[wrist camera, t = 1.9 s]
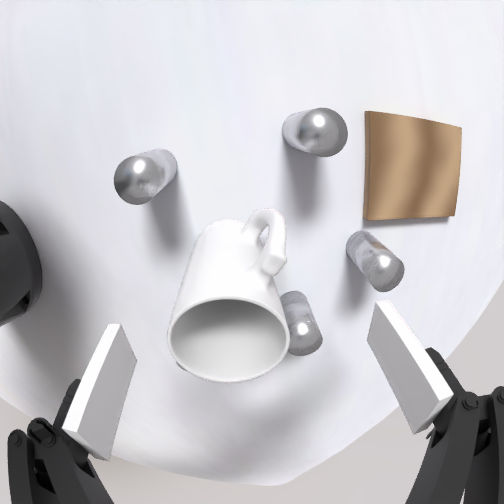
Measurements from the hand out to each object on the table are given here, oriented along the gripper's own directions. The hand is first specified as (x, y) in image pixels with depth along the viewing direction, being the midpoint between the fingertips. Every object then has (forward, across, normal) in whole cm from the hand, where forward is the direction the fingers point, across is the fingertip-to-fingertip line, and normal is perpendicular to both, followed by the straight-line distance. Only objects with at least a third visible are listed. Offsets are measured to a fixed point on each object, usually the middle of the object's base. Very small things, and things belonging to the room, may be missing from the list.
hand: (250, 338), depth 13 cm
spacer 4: (+13, +12, -2) cm, 17 cm away
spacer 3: (+13, +5, -8) cm, 16 cm away
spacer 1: (+13, -6, +7) cm, 16 cm away
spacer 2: (+13, +6, +9) cm, 17 cm away
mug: (+13, 0, 0) cm, 13 cm away
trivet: (+13, +18, +6) cm, 23 cm away
